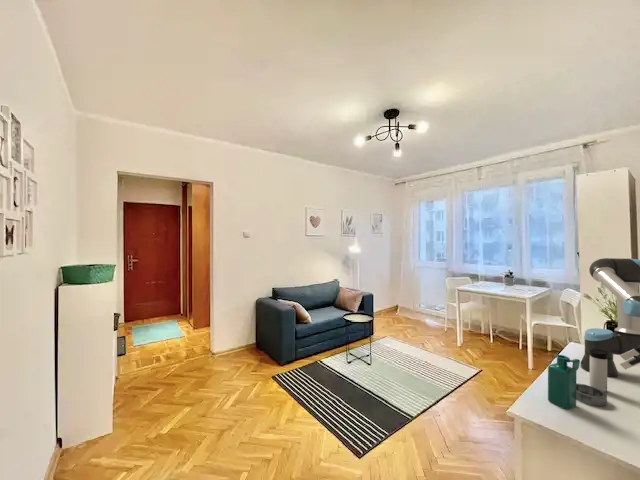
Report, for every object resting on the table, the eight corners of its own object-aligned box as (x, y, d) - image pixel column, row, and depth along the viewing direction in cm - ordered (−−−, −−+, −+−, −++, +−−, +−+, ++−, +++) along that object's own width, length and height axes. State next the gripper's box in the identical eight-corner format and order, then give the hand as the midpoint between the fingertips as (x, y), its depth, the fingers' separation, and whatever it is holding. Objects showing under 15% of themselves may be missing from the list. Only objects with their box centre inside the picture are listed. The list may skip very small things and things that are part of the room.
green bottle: (545, 400, 130) (546, 353, 130) (556, 396, 134) (556, 351, 133) (571, 412, 121) (571, 362, 121) (581, 407, 125) (582, 359, 124)
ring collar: (583, 390, 139) (583, 382, 139) (614, 405, 127) (614, 396, 127) (563, 393, 136) (563, 385, 136) (592, 408, 124) (592, 399, 124)
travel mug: (611, 394, 135) (611, 353, 135) (595, 392, 137) (595, 352, 137) (601, 387, 142) (601, 348, 141) (586, 386, 143) (586, 347, 143)
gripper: (687, 354, 111) (631, 378, 122) (679, 339, 127) (630, 361, 139) (666, 338, 115) (613, 362, 126) (661, 325, 131) (615, 348, 143)
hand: (622, 362), depth 132 cm, fingers open, 13 cm apart
